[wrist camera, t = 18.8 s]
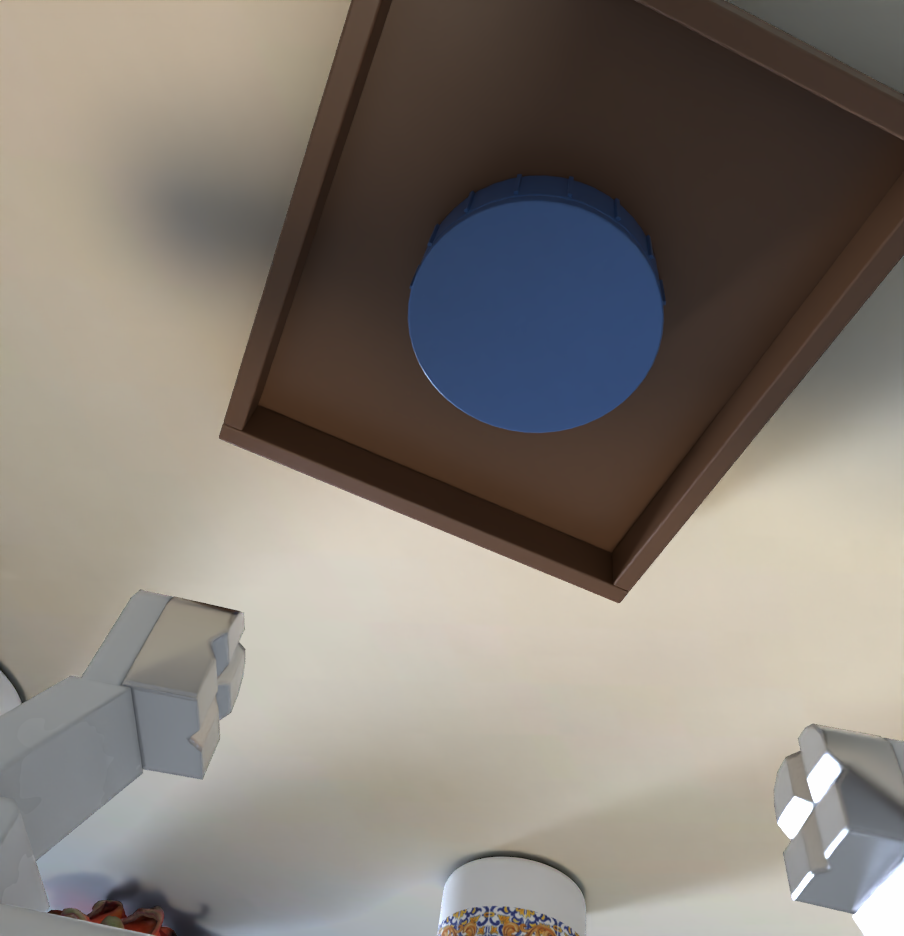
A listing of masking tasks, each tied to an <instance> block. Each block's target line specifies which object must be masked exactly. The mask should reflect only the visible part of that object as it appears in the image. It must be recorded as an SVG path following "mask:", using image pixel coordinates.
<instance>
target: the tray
mask: <svg viewBox="0 0 904 936" xmlns="http://www.w3.org/2000/svg"><path fill="white" fill-rule="evenodd" d="M517 174H522V177H524V176H554V177H563V178H566V179H569V176H571V177H574V181H578V182H581V183H584V184H586V185H589V186H591V187H594V188H596V189H597V190H599V191H601V192H603V193H604V194H606V195H608V196H610V197H611V198H612V199H613V200H615V199H616V198H618V199H619V200H620V205H621V206H622V207H623V208H624V209H625V210H626V211H627V212H628V213H629V214H630V215H631V216H632V217H633V218H634V219H635V221H636V222H637V223H638V225H639V226H640V227H641V229H642V230H643V232H644V234H645V236H647V235H649V236H650V238H651V243H652V250H653V254H654V256H655V259H656V264H657V269H658V274H659V280H662V281H663V287H664V293H665V299H666V305H663V310H664V324H663V335H662V339H661V343H660V347H659V351H658V353H657V356H656V358H655V360H654V363H653V365H652V367H651V368H650V370H649V372H648V374H647V375H646V377H645V378H644V380H643V381H642V382H641V384H640V385H639V386H638V388H637V389H636V390H635V391H634V392H633V393H632V394H631V395H630V396H629V397H628V398H627V399H626V400H625V401H624V402H622V403H621V404H620V405H618V406H617V407H616V408H615V409H613V410H612V411H610V412H608V413H607V414H605V415H603V416H602V417H600V418H598V419H596V420H593V421H591V422H589V423H587V424H584V425H581V426H578V427H574V428H571V429H566V430H561V431H556V432H544V433H530V432H519V431H512V430H507V429H503V428H499V427H495V426H492V425H490V424H487V423H484V422H482V421H480V420H478V419H476V418H474V417H472V416H470V415H468V414H466V413H465V412H463V411H462V410H460V409H459V408H457V407H456V406H454V405H453V404H452V403H451V402H450V401H448V400H447V399H446V398H445V397H444V396H443V395H442V394H441V393H440V392H439V391H438V390H437V389H436V388H435V387H434V386H433V384H432V383H431V381H430V380H429V379H428V377H427V376H426V375H425V373H424V371H423V369H422V367H421V366H420V364H419V362H418V360H417V357H416V355H415V352H414V349H413V347H412V342H411V338H410V334H409V326H408V303H409V297H410V292H411V289H410V284H411V282H412V279H413V277H414V275H415V272H416V270H417V267H418V265H420V263H421V261H422V259H423V256H424V254H425V251H426V249H427V247H428V245H427V244H428V242H429V239H430V237H431V235H432V232H433V230H434V227H435V225H436V224H437V223H438V224H439V225H440V224H441V223H442V221H443V220H444V219H445V218H446V217H447V216H448V214H449V213H450V212H451V211H452V210H453V209H454V208H455V207H456V206H458V205H459V204H460V203H461V202H463V201H464V200H465V199H466V198H468V196H469V193H470V192H471V191H474V192H475V193H476V192H478V191H479V190H481V189H483V188H486V187H488V186H490V185H492V184H495V183H498V182H501V181H504V180H508V179H511V178H517ZM903 255H904V95H903V94H901V93H899V92H898V91H896V90H894V89H892V88H890V87H888V86H886V85H884V84H882V83H880V82H879V81H877V80H875V79H873V78H871V77H869V76H867V75H865V74H863V73H862V72H860V71H858V70H856V69H854V68H852V67H850V66H848V65H846V64H845V63H843V62H841V61H839V60H837V59H835V58H833V57H831V56H829V55H828V54H826V53H824V52H822V51H820V50H818V49H816V48H814V47H812V46H810V45H809V44H807V43H805V42H803V41H801V40H799V39H797V38H795V37H793V36H792V35H790V34H788V33H786V32H784V31H782V30H780V29H778V28H776V27H775V26H773V25H771V24H769V23H767V22H765V21H763V20H761V19H759V18H757V17H756V16H754V15H752V14H750V13H748V12H746V11H744V10H742V9H740V8H739V7H737V6H735V5H733V4H731V3H729V2H727V1H725V0H352V1H351V4H350V7H349V10H348V14H347V17H346V20H345V24H344V27H343V30H342V33H341V37H340V40H339V43H338V47H337V50H336V53H335V56H334V60H333V63H332V66H331V70H330V73H329V76H328V80H327V83H326V86H325V89H324V93H323V96H322V99H321V103H320V106H319V109H318V112H317V116H316V119H315V122H314V126H313V129H312V132H311V136H310V139H309V142H308V145H307V149H306V152H305V155H304V159H303V162H302V165H301V168H300V172H299V175H298V178H297V182H296V185H295V188H294V192H293V195H292V198H291V201H290V205H289V208H288V211H287V215H286V218H285V221H284V224H283V228H282V231H281V234H280V238H279V241H278V244H277V247H276V251H275V254H274V257H273V261H272V264H271V267H270V271H269V274H268V277H267V280H266V284H265V287H264V290H263V294H262V297H261V300H260V303H259V307H258V310H257V313H256V317H255V320H254V323H253V327H252V330H251V333H250V336H249V340H248V343H247V346H246V350H245V353H244V356H243V359H242V363H241V366H240V369H239V373H238V376H237V379H236V383H235V386H234V389H233V392H232V396H231V399H230V402H229V406H228V409H227V412H226V415H225V419H224V423H223V425H222V428H221V432H220V435H219V439H221V440H223V441H226V442H228V443H231V444H233V445H235V446H238V447H240V448H243V449H245V450H248V451H250V452H252V453H255V454H257V455H260V456H262V457H265V458H267V459H269V460H272V461H274V462H277V463H279V464H282V465H284V466H286V467H289V468H291V469H294V470H296V471H299V472H301V473H303V474H306V475H308V476H311V477H313V478H316V479H318V480H320V481H323V482H325V483H328V484H330V485H333V486H335V487H337V488H340V489H342V490H345V491H347V492H350V493H352V494H355V495H357V496H359V497H362V498H364V499H367V500H369V501H372V502H374V503H376V504H379V505H381V506H384V507H386V508H389V509H391V510H393V511H396V512H398V513H401V514H403V515H406V516H408V517H410V518H413V519H415V520H418V521H420V522H423V523H425V524H427V525H430V526H432V527H435V528H437V529H440V530H442V531H444V532H447V533H449V534H452V535H454V536H457V537H459V538H461V539H464V540H466V541H469V542H471V543H474V544H476V545H478V546H481V547H483V548H486V549H488V550H491V551H493V552H495V553H498V554H500V555H503V556H505V557H508V558H510V559H512V560H515V561H517V562H520V563H522V564H525V565H527V566H529V567H532V568H534V569H537V570H539V571H542V572H544V573H546V574H549V575H551V576H554V577H556V578H559V579H561V580H563V581H566V582H568V583H571V584H573V585H576V586H578V587H580V588H583V589H585V590H588V591H590V592H593V593H595V594H597V595H600V596H602V597H605V598H607V599H610V600H612V601H614V602H617V603H620V602H621V601H622V600H623V599H624V597H625V596H626V595H627V594H628V592H629V591H630V590H631V589H632V587H633V586H634V585H635V584H636V583H637V581H638V580H639V579H640V578H641V576H642V575H643V574H644V573H645V572H646V570H647V569H648V568H649V567H650V565H651V564H652V563H653V562H654V560H655V559H656V558H657V557H658V556H659V554H660V553H661V552H662V551H663V549H664V548H665V547H666V546H667V545H668V543H669V542H670V541H671V540H672V538H673V537H674V536H675V535H676V534H677V532H678V531H679V530H680V529H681V527H682V526H683V525H684V524H685V522H686V521H687V520H688V519H689V518H690V516H691V515H692V514H693V513H694V511H695V510H696V509H697V508H698V507H699V505H700V504H701V503H702V502H703V500H704V499H705V498H706V497H707V496H708V494H709V493H710V492H711V491H712V489H713V488H714V487H715V486H716V484H717V483H718V482H719V481H720V480H721V478H722V477H723V476H724V475H725V473H726V472H727V471H728V470H729V469H730V467H731V466H732V465H733V464H734V462H735V461H736V460H737V459H738V457H739V456H740V455H741V454H742V453H743V451H744V450H745V449H746V448H747V446H748V445H749V444H750V443H751V442H752V440H753V439H754V438H755V437H756V435H757V434H758V433H759V432H760V431H761V429H762V428H763V427H764V426H765V424H766V423H767V422H768V421H769V419H770V418H771V417H772V416H773V415H774V413H775V412H776V411H777V410H778V408H779V407H780V406H781V405H782V404H783V402H784V401H785V400H786V399H787V397H788V396H789V395H790V394H791V393H792V391H793V390H794V389H795V388H796V386H797V385H798V384H799V383H800V381H801V380H802V379H803V378H804V377H805V375H806V374H807V373H808V372H809V370H810V369H811V368H812V367H813V366H814V364H815V363H816V362H817V361H818V359H819V358H820V357H821V356H822V354H823V353H824V352H825V351H826V350H827V348H828V347H829V346H830V345H831V343H832V342H833V341H834V340H835V339H836V337H837V336H838V335H839V334H840V332H841V331H842V330H843V329H844V328H845V326H846V325H847V324H848V323H849V321H850V320H851V319H852V318H853V316H854V315H855V314H856V313H857V312H858V310H859V309H860V308H861V307H862V305H863V304H864V303H865V302H866V301H867V299H868V298H869V297H870V296H871V294H872V293H873V292H874V291H875V290H876V288H877V287H878V286H879V285H880V283H881V282H882V281H883V280H884V278H885V277H886V276H887V275H888V274H889V272H890V271H891V270H892V269H893V267H894V266H895V265H896V264H897V263H898V261H899V260H900V259H901V258H902V256H903Z"/></svg>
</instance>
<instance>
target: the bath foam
mask: <svg viewBox="0 0 904 936" xmlns="http://www.w3.org/2000/svg"><path fill="white" fill-rule="evenodd" d="M437 936H586V904H585V900H584V897H583V894H582V892H581V891H580V889H579V888H578V886H577V885H576V884H575V883H574V882H573V881H572V880H571V879H570V878H569V877H568V876H566V875H565V874H563V873H562V872H560V871H558V870H557V869H555V868H552V867H550V866H548V865H545V864H543V863H540V862H536V861H533V860H528V859H523V858H516V857H489V858H483V859H478V860H474V861H471V862H469V863H466V864H464V865H462V866H461V867H459V868H458V869H456V870H455V871H454V872H453V873H452V874H451V875H450V877H449V878H448V880H447V882H446V884H445V888H444V893H443V899H442V906H441V913H440V920H439V927H438V931H437Z"/></svg>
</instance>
